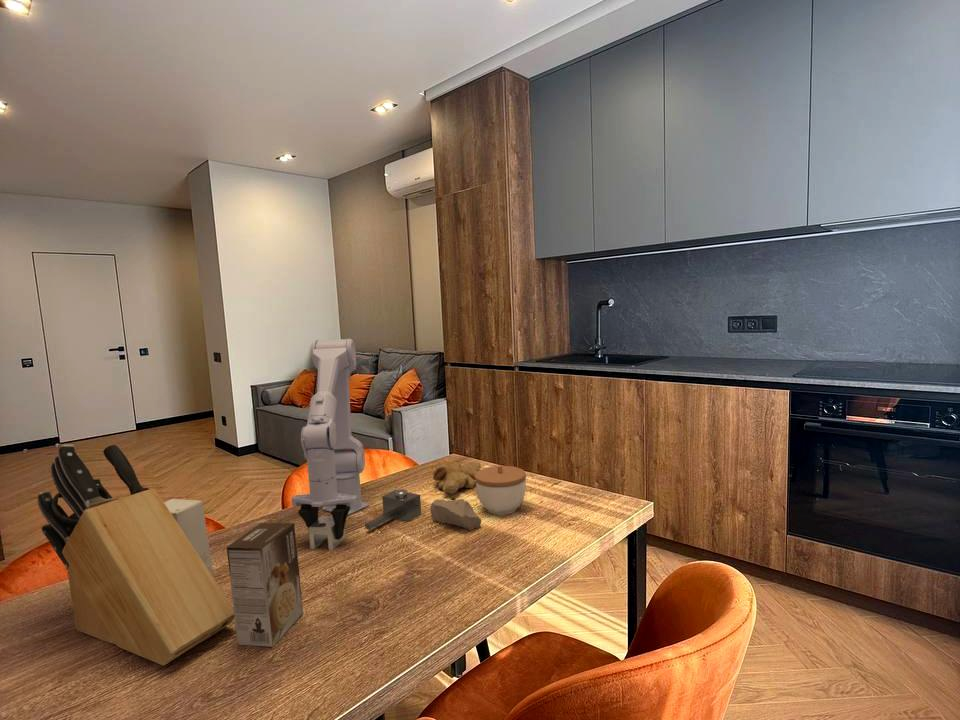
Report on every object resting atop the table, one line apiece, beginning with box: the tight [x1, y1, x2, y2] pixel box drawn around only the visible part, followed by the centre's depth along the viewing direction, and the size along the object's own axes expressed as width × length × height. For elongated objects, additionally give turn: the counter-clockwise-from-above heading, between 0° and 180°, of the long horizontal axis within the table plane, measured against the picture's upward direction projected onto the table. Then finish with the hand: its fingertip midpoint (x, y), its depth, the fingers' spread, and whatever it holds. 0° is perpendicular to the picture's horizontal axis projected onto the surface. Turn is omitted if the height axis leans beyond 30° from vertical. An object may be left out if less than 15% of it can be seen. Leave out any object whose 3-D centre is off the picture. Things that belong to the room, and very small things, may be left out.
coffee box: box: [226, 522, 304, 648], centre depth 82 cm, size 9×6×16 cm
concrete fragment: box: [429, 497, 482, 531], centre depth 120 cm, size 7×14×6 cm, turn 38°
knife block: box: [37, 443, 235, 667], centre depth 84 cm, size 11×35×31 cm, turn 63°
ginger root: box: [432, 462, 482, 494], centre depth 145 cm, size 16×16×8 cm
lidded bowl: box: [474, 464, 527, 516], centre depth 126 cm, size 13×13×11 cm
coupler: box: [364, 488, 422, 531], centre depth 123 cm, size 8×14×6 cm, turn 145°
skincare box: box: [163, 498, 214, 576], centre depth 99 cm, size 8×7×16 cm
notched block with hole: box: [308, 515, 346, 551], centre depth 113 cm, size 5×6×5 cm
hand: (327, 537), depth 113 cm, fingers closed on notched block with hole, 5 cm apart
